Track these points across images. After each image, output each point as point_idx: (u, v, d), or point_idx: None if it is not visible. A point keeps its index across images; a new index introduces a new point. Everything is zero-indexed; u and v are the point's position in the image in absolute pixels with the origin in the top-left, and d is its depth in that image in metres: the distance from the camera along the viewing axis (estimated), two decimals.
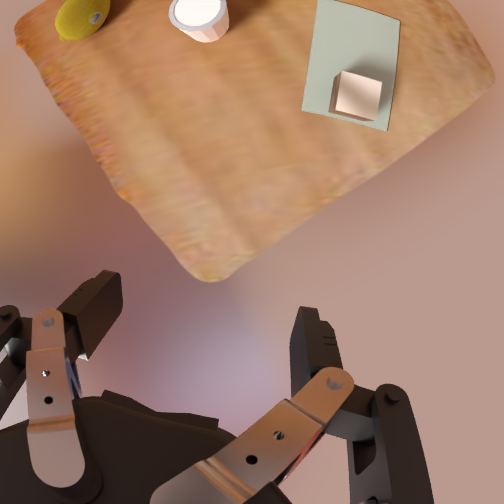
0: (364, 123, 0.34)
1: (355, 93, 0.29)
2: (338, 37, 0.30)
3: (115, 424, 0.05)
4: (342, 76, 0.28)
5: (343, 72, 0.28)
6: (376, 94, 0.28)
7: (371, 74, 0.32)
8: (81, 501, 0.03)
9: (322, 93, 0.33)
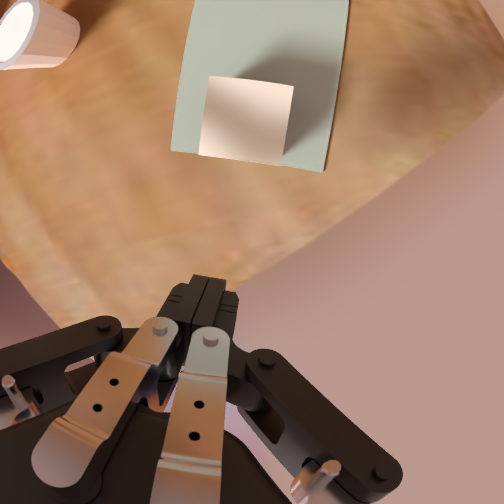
0: None
1: (235, 117, 0.16)
2: (233, 15, 0.17)
3: None
4: (209, 87, 0.15)
5: (211, 78, 0.15)
6: (281, 112, 0.16)
7: (293, 71, 0.19)
8: (60, 499, 0.03)
9: None
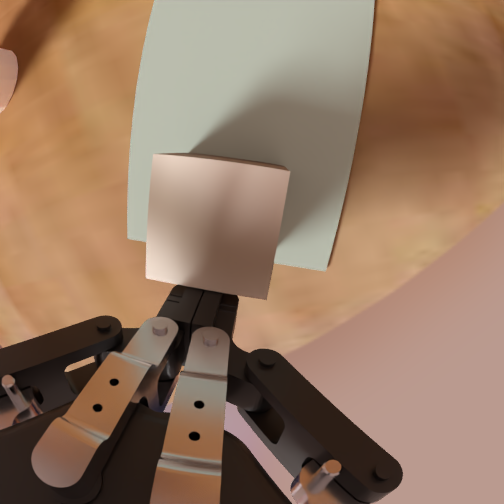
0: None
1: (196, 224, 0.11)
2: (202, 40, 0.12)
3: None
4: (154, 173, 0.10)
5: (157, 159, 0.10)
6: (268, 218, 0.11)
7: (290, 128, 0.14)
8: (60, 499, 0.03)
9: None
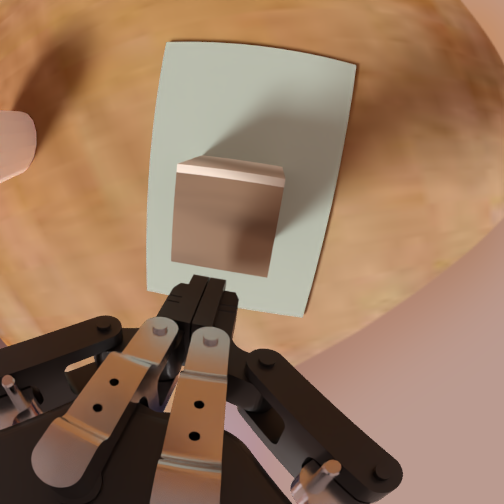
0: (258, 308, 0.22)
1: (227, 163, 0.15)
2: (202, 135, 0.17)
3: None
4: (201, 156, 0.17)
5: (204, 155, 0.17)
6: (274, 169, 0.16)
7: None
8: (60, 499, 0.03)
9: (176, 262, 0.21)
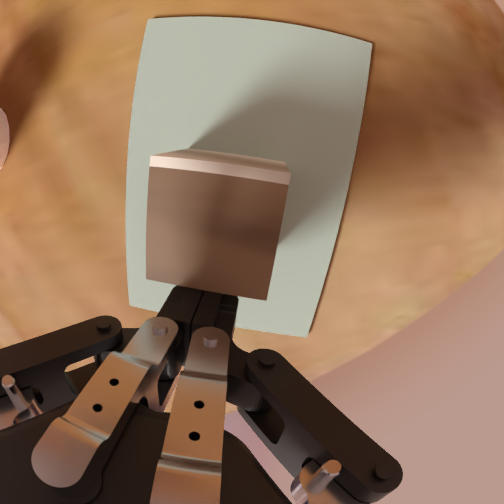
0: (256, 327, 0.18)
1: (216, 155, 0.12)
2: (188, 124, 0.14)
3: None
4: (186, 149, 0.14)
5: (190, 149, 0.14)
6: (275, 163, 0.13)
7: None
8: (60, 499, 0.03)
9: None
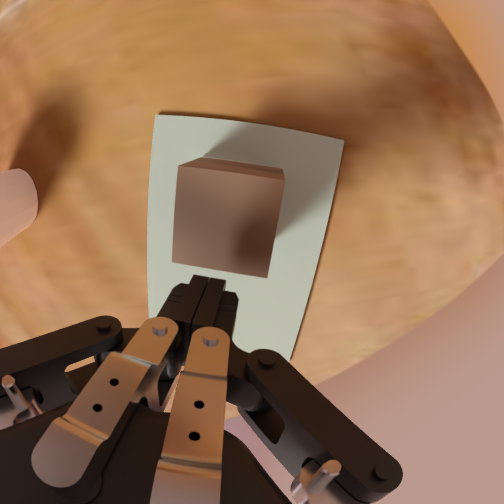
0: None
1: None
2: None
3: None
4: None
5: None
6: None
7: (262, 282, 0.21)
8: (60, 499, 0.03)
9: None
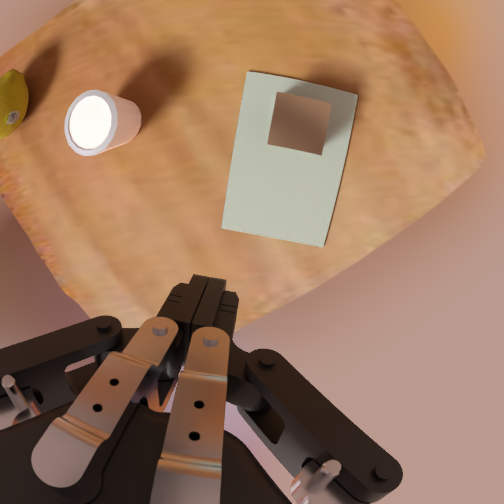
0: (295, 240, 0.34)
1: None
2: (268, 130, 0.29)
3: None
4: None
5: None
6: None
7: (308, 178, 0.31)
8: (60, 499, 0.03)
9: (245, 208, 0.33)
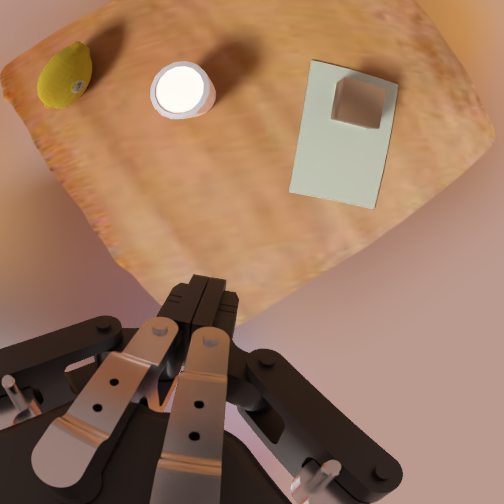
0: (351, 202, 0.38)
1: None
2: (330, 109, 0.33)
3: None
4: (331, 114, 0.33)
5: (331, 118, 0.34)
6: None
7: (362, 150, 0.35)
8: (60, 498, 0.03)
9: (310, 174, 0.37)
